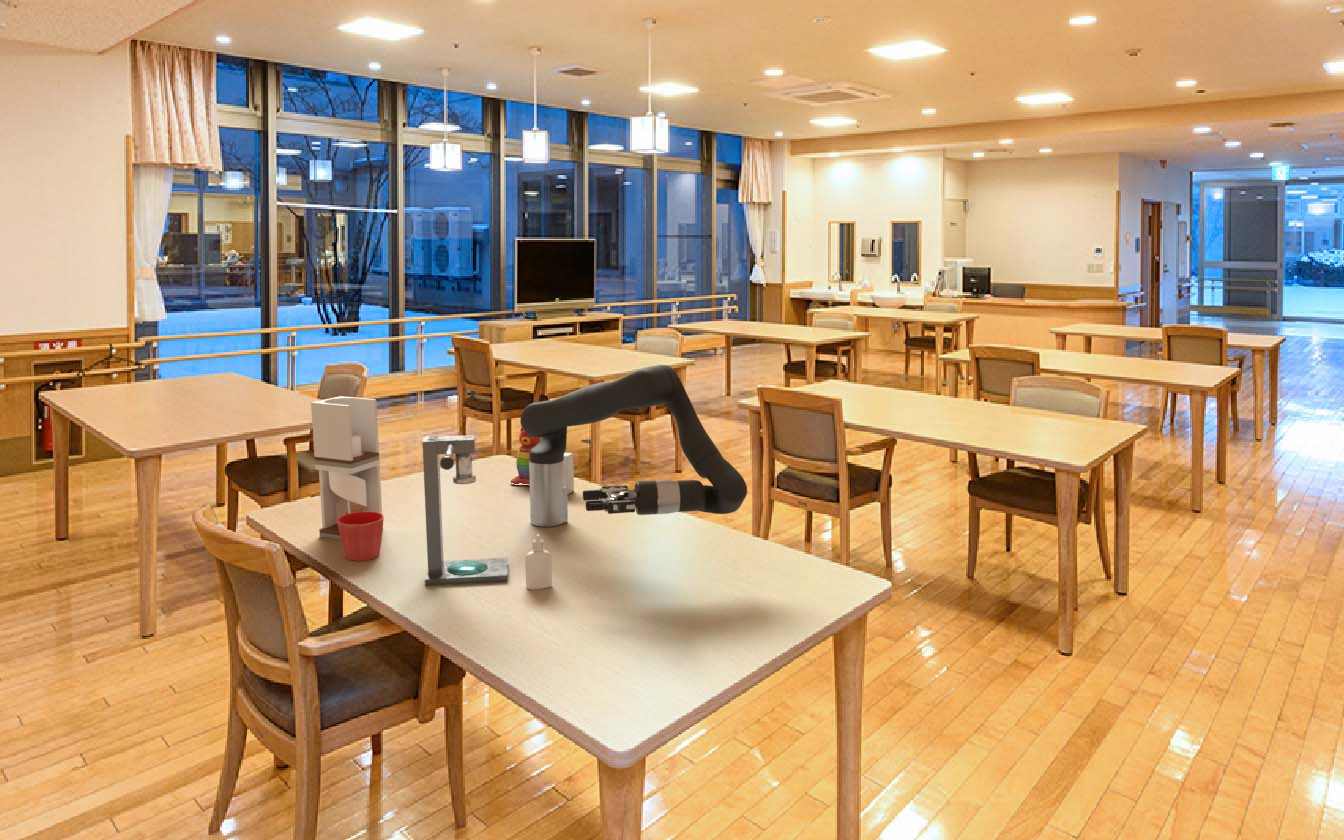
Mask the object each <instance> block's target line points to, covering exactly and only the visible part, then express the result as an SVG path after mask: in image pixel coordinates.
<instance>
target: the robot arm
mask: <svg viewBox="0 0 1344 840" xmlns="http://www.w3.org/2000/svg"><path fill="white" fill-rule="evenodd" d="M691 401H692V400H690V397H689V395H688V393H687V391H686V389H685V387H684V385H683V383H682V380H681V378H680V377H679V375H678V373H677V372H676V370H674V368H672V367H671V366H670V365H667V364H658V365H651V366H646V367H642V368H638V369H636V370H634V371H632V372H631V373H628V374H627V375H623V377H620V378H618V379H615V380H613V381H603V382H597V383H593V384H590V385H588V386H584V387H581V388H579V389H576V390H574V391H571V392H569V393H566V394H564V395H562V396H560V397H558V398H555V399H551V400H549V399H548V400H544V401H537V402H531V403H529V404H528V405H527V406H526V407H525V408H524V409H523V411H522V412H521V415H520V420H519V421H520V425H521V428H523V430H524V431H525V432H526V433H527V434H528V435H530V436H533V437H541V440H540V442H539V443H538V444H537V445H536V446H535V447H533V448H532V449H531V450H530V452H529V471H530V487H529V504H530V505H529V507H530V508H529V510H530V511H529V512H530V513H529V514H530V515H529V516H530V524H531V525H533V526H536V527H544V528H545V527H556V526H560V525H562V524H564V523H568V521H569V517H568V515H569V514H568V511H569V510H568V505H569V504H568V494H567V488H566V487H564V453H566V451H567V442H568V441H567V438H568V435H567V434H568V427H575V426H584V425H589V424H594V423H598V422H601V421H604V420H605V421H606V420H608V419H610V418H612V417H614V416H616V415H617V414H618V413H620V412H621V411H624V410H630V409H635V408H647V407H648V408H649V407H655V406H659V405H663V404H664V405H665V406H666V407H667V409H668V410H669V411H670V413H671V414H672V415H673V417H674V420H675V422H676V425H677V430H678V438H679V443H680V447H681V450H682V452H683V454H684V456H685V457H686V459H687V461H688V462H689V464H690V465H691V466H692V468H693V470H694V471H695V473H696V474H697V475H698V477H700V478H701V479H707V480H708V482H710V484H711V485H707V484H703V483H702V482H701V481H700V480H696V479H686V480H685V479H684V480H683V479H681V480H671V479H657V480H653V479H652V480H637V481H636V482H635V484H634V489H629V486H628V485H626V484H625V485H624V484H623V485H602V486H601V488H599V489H585V490H583V491H582V499H583V501H585V510H586V511H587V512H588V511H589V512H597V511H603V512H605V513H606V512H607V514H608V515H609V514H610V515H611V514H613V515H614V514H625V513H626V514H627V513H636V515H638V516H647V515H648V516H650V515H667V514H668V515H669V514H674V513H684V512H685V513H686V512H702V513H706V514H707V513H708V514H715V515H726V514H732V513H734V512H736V511H738V510H739V509H740V508H741V507H742V504H743V502H744V501H745V499H746V497H747V495H748V486H747V483H746V481H745V479H744V477H743V476H742V474H741V473H740V472H739V471H738V470H737V469H736V468H735V467H734V466H733V465H732V464H731V463H730V462H729V461H727V459H726V458H724V457H723V455H722V453H721V452H720V450H719V449H718V448H717V446H716V444H715V443H714V442H713V440H712V438H711V437H710V436H709V434H708V433H707V430H706V429H705V428H704V426H703V423H702V422H701V421H700V418H699V416H698V414H697V412H696V410H695V407H694V405H693V403H692V402H691Z"/></svg>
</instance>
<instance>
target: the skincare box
mask: <svg viewBox="0 0 1344 840" xmlns="http://www.w3.org/2000/svg"><path fill="white" fill-rule="evenodd" d="M574 472H575V471H574V453H571V452H565V453H564V487H566V488H567V495H570V494H572V493H573V492H572V491H574V492H575V478H574V475H575V473H574ZM571 492H572V493H571ZM569 493H570V494H569Z"/></svg>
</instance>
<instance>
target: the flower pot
mask: <svg viewBox="0 0 1344 840" xmlns="http://www.w3.org/2000/svg"><path fill="white" fill-rule="evenodd" d="M384 518H385V517H384V515H383V513H382V514H381V513H378V512H370V511H364V512H354V513H349V514H346V515H343V516H341V517H339V518H338V519H337V524H338V528H339V532H340V536H341V540H340V541H341V543H342V547H343V552H344V554H345V558H346V559H347V560H349V561H353V562H363V561H369V560H373V559H376V558H378V557H379V555H380V554H381V553H380V552H381V546H382V541H383V540H382V538H383V531H384ZM382 530H383V531H382Z"/></svg>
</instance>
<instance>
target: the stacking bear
mask: <svg viewBox="0 0 1344 840" xmlns="http://www.w3.org/2000/svg"><path fill="white" fill-rule="evenodd" d="M541 439H542V437H533V436H530V435H528V434H527V433H526V432H525V431H524V430H523V428H522V427H521V428H520V433H519V442H520V444H521V445H520V446H519V448H518V451H517V455H516V460H515V462H516V463H515V465H516V470H517V474H518V476H515V477H513V478H512V479H510V482H511V483H514V484H519V483H522V484H529V485H530V471H529V452H530V450H531V449H532V448H533V447H535V446H536V445H537V444H538V443H539V442H540V440H541Z"/></svg>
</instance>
